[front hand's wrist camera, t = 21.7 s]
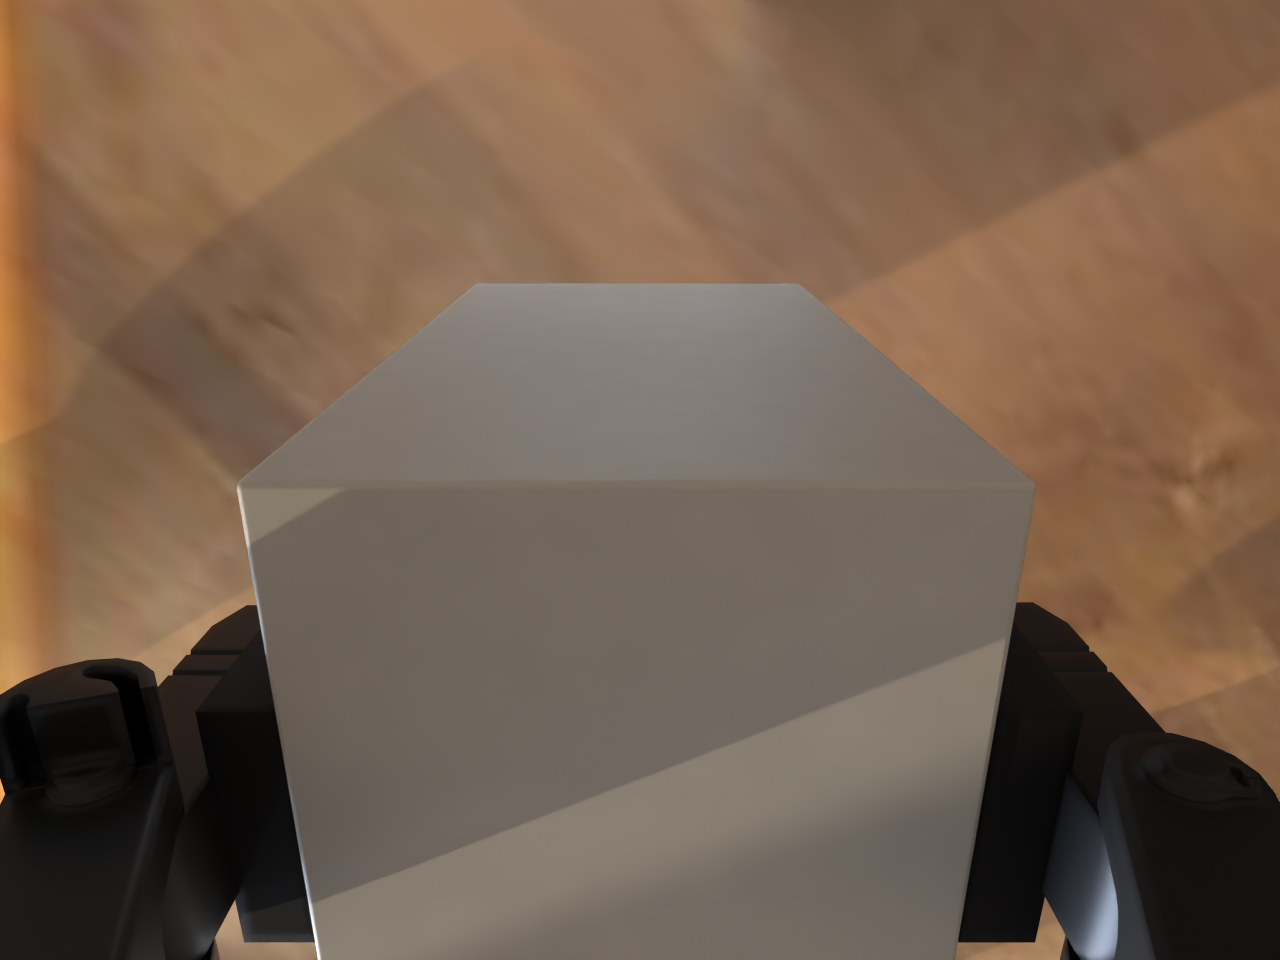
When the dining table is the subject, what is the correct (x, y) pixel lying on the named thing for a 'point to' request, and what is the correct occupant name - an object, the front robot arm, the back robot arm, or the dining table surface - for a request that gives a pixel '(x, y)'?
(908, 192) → the dining table surface
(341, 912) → the block
